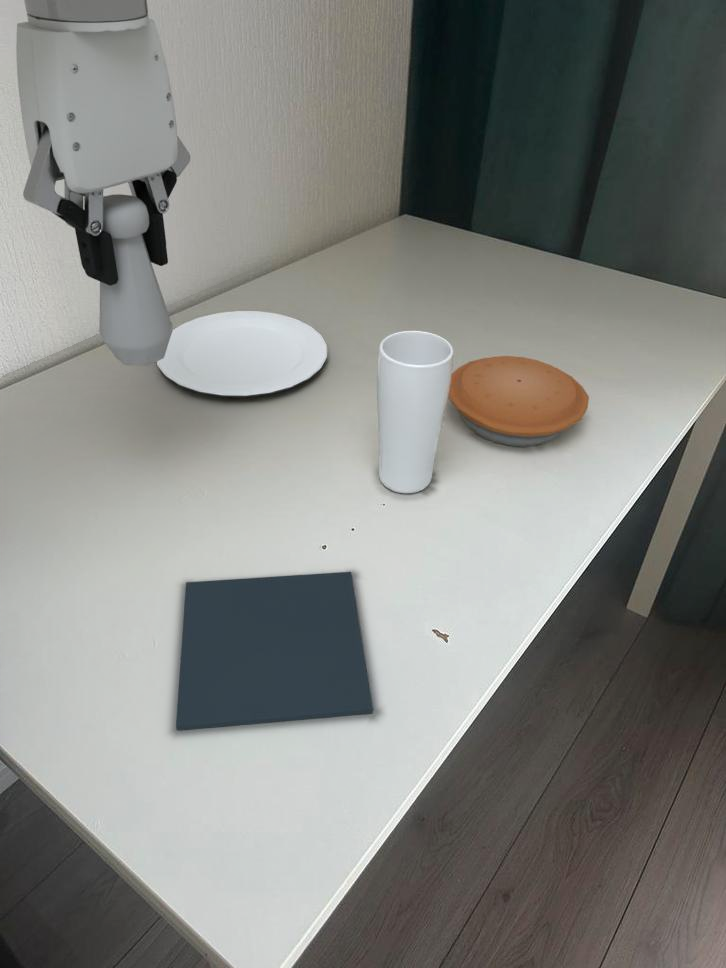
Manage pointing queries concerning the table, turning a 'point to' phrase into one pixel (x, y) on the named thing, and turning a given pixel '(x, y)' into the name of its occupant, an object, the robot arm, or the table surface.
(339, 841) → the table surface
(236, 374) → the plate
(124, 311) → the salt shaker
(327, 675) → the mat
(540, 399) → the pie
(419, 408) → the drinking glass
